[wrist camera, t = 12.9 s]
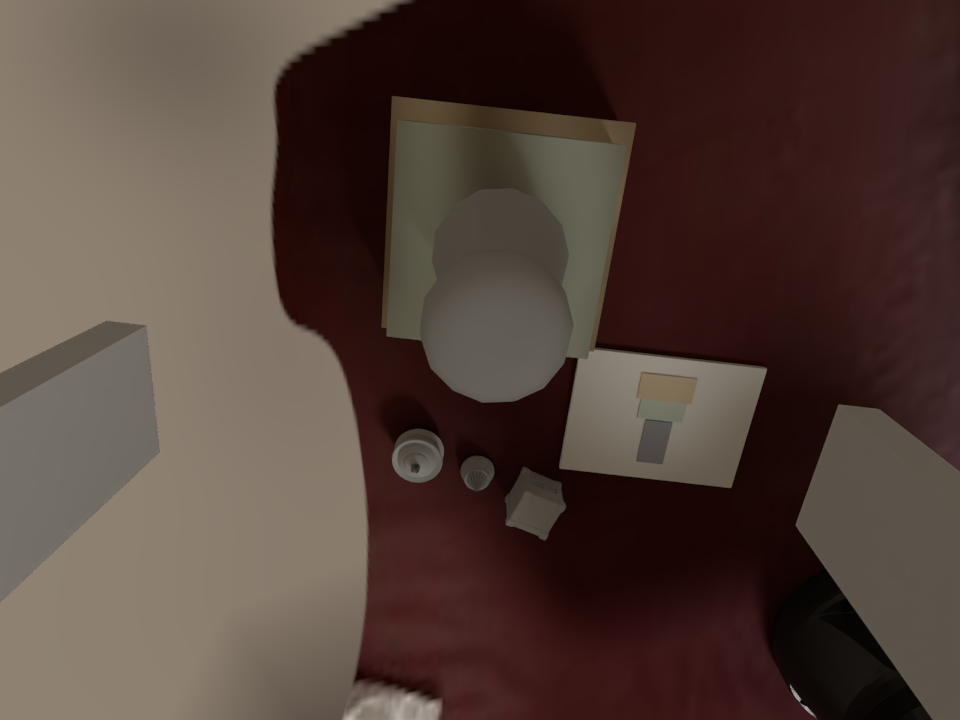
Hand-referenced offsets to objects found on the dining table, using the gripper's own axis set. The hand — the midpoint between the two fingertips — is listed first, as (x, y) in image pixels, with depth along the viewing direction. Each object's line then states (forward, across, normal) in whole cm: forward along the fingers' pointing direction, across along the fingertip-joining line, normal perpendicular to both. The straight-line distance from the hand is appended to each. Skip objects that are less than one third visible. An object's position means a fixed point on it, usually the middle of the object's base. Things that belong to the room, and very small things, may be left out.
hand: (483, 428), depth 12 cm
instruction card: (+27, -12, +12) cm, 32 cm away
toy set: (+27, 0, +17) cm, 32 cm away
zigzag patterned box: (+27, 0, 0) cm, 27 cm away
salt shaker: (+18, 0, 0) cm, 18 cm away
